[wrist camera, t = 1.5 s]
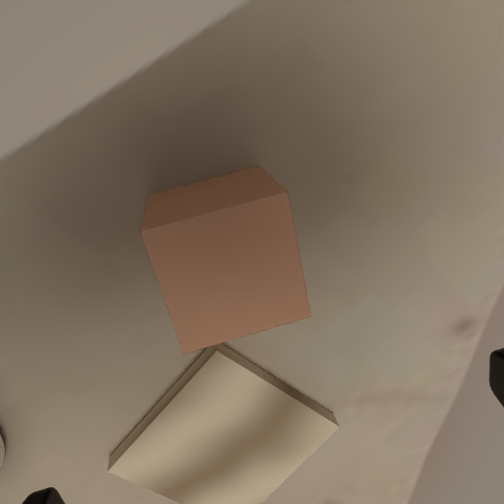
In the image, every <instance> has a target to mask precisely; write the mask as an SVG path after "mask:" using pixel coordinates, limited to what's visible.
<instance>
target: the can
mask: <svg viewBox="0 0 504 504" xmlns="http://www.w3.org/2000/svg"><path fill="white" fill-rule="evenodd" d="M4 454H5V449H4V443H3V439H2V437H1V435H0V469H1V466H2V463H3V460H4Z"/></svg>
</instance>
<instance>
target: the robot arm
mask: <svg viewBox="0 0 504 504" xmlns="http://www.w3.org/2000/svg"><path fill="white" fill-rule="evenodd" d="M489 382H490V387H491V389H492V391H493V393H494V395H495V396H496V397H497V399H498V400H499V402H500V403H501V404H502V405H503V407H504V348H502V349H499V350H495V351H493V352H492V353H491V355H490V372H489ZM22 504H65V503H64V501H63V499H62V498H61V496H60V494H59V493H58V491H57V490H56V489H55V488H53V487H49V488H46V489H43V490H40V491H36V492H33V493H32V494H30V495H29V496H28V497H27V498H26V499H25V501H24V502H23V503H22Z"/></svg>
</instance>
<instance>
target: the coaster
mask: <svg viewBox="0 0 504 504" xmlns="http://www.w3.org/2000/svg"><path fill="white" fill-rule="evenodd" d="M339 427H340V426H339V424H338V422H337V420H336V418H335V416H334V414H333V413H331V412H329V411H328V410H326V409H325V408H323V407H321V406H320V405H318V404H317V403H315V402H314V401H312V400H310V399H309V398H307V397H306V396H304V395H302V394H301V393H299V392H298V391H296V390H294V389H293V388H291V387H290V386H288V385H287V384H285V383H283V382H282V381H280V380H279V379H277V378H275V377H274V376H272V375H271V374H269V373H268V372H266V371H264V370H263V369H261V368H260V367H258V366H256V365H255V364H253V363H252V362H250V361H248V360H247V359H245V358H244V357H242V356H241V355H239V354H237V353H236V352H234V351H233V350H231V349H229V348H228V347H226V346H225V345H223V344H222V343H220V344H216V345H213V346H210V347H208V348H207V349H206V350H205V351H204V352H203V353H202V354H201V355H200V356H199V358H198V359H197V360H196V361H195V362H194V363H193V364H192V365H191V366H190V368H189V369H188V370H187V371H186V372H185V373H184V374H183V375H182V376H181V378H180V379H179V380H178V381H177V382H176V383H175V384H174V385H173V386H172V388H171V389H170V390H169V391H168V392H167V393H166V394H165V395H164V396H163V398H162V399H161V400H160V401H159V402H158V403H157V404H156V405H155V407H154V408H153V409H152V410H151V411H150V412H149V413H148V414H147V415H146V417H145V418H144V419H143V420H142V421H141V422H140V423H139V424H138V425H137V427H136V428H135V429H134V430H133V431H132V432H131V433H130V434H129V435H128V437H127V438H126V439H125V440H124V441H123V442H122V443H121V444H120V445H119V447H118V448H117V449H116V450H115V451H114V452H113V453H112V454H111V455H110V458H109V464H108V470H107V472H109V473H111V474H114V475H116V476H118V477H121V478H123V479H125V480H128V481H130V482H132V483H135V484H137V485H140V486H142V487H144V488H147V489H149V490H151V491H154V492H156V493H158V494H161V495H163V496H165V497H168V498H170V499H172V500H175V501H177V502H179V503H182V504H261V503H262V502H263V501H264V500H265V499H266V498H267V497H268V496H269V495H270V494H271V493H272V492H274V491H275V490H276V489H277V488H278V487H279V486H280V485H281V484H282V483H283V482H284V481H285V480H286V479H287V478H288V477H289V476H290V475H291V474H292V473H293V472H294V471H295V470H296V469H297V468H298V467H299V466H300V465H301V464H302V463H303V462H304V461H305V460H306V459H307V458H308V457H309V456H310V455H311V454H312V453H313V452H314V451H315V450H316V449H317V448H318V447H319V446H321V445H322V444H323V443H324V442H325V441H326V440H327V439H328V438H329V437H330V436H331V435H332V434H333V433H334V432H335V431H336V430H337V429H338V428H339Z"/></svg>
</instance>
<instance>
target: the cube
mask: <svg viewBox="0 0 504 504" xmlns="http://www.w3.org/2000/svg"><path fill="white" fill-rule="evenodd" d="M140 232H141V235H142V238H143V241H144V244H145V247H146V249H147V252H148V255H149V258H150V261H151V264H152V266H153V269H154V272H155V275H156V278H157V281H158V283H159V286H160V289H161V292H162V295H163V297H164V300H165V303H166V306H167V309H168V312H169V314H170V317H171V320H172V323H173V326H174V329H175V331H176V334H177V337H178V340H179V343H180V346H181V348H182V351H183V354H186V353H189V352H193V351H196V350H199V349H203V348H206V347H210V346H213V345H216V344H220V343H223V342H227V341H230V340H233V339H237V338H240V337H243V336H247V335H250V334H254V333H257V332H260V331H264V330H267V329H271V328H274V327H277V326H281V325H284V324H287V323H291V322H294V321H298V320H301V319H304V318H308V317H311V312H310V307H309V302H308V297H307V292H306V286H305V281H304V276H303V271H302V266H301V261H300V255H299V250H298V245H297V240H296V235H295V229H294V224H293V219H292V214H291V209H290V204H289V198H288V193H287V191H286V190H285V189H284V188H282V187H281V186H280V185H279V184H278V183H277V182H276V181H275V180H274V179H273V178H272V177H271V176H269V175H268V174H267V173H266V172H265V171H264V170H263V169H262V168H261V167H260V166H256V167H253V168H249V169H245V170H241V171H237V172H234V173H230V174H226V175H222V176H218V177H215V178H211V179H207V180H203V181H199V182H196V183H192V184H188V185H184V186H180V187H177V188H173V189H169V190H165V191H161V192H157V193H154V194H150V195H148V196H147V201H146V206H145V211H144V215H143V220H142V225H141V230H140Z"/></svg>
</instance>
